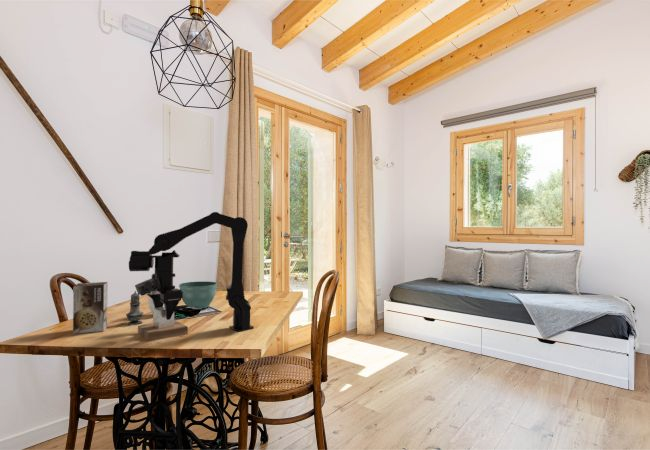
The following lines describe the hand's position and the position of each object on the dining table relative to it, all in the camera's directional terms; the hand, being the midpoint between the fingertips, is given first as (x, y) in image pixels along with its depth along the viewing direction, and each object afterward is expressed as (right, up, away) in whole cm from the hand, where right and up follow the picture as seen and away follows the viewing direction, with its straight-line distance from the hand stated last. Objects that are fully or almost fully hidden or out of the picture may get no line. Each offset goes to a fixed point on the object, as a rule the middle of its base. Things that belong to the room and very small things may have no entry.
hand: (163, 316), depth 120 cm
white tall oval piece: (-13, -6, +25) cm, 29 cm away
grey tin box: (0, -3, 0) cm, 3 cm away
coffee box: (-26, -5, +2) cm, 27 cm away
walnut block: (0, -6, 0) cm, 6 cm away
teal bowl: (-2, -6, +40) cm, 40 cm away
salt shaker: (-16, -6, +12) cm, 21 cm away
